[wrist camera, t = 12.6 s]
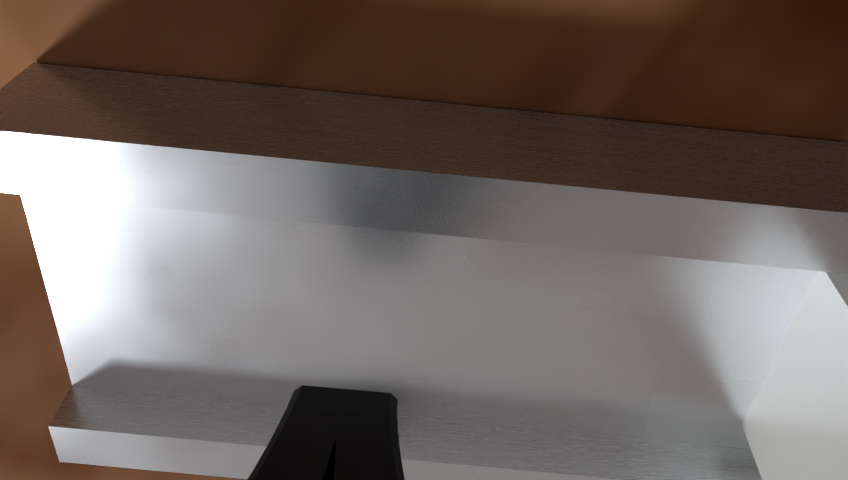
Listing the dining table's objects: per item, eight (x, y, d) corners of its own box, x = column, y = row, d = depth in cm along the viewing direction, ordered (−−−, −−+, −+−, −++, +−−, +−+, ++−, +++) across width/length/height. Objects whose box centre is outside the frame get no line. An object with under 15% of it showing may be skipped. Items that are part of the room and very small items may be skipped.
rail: (32, 62, 12) (-213, 261, 8) (1285, 185, 12) (1734, 447, 8) (105, 376, 16) (-26, 620, 12) (1040, 464, 16) (1245, 735, 12)
